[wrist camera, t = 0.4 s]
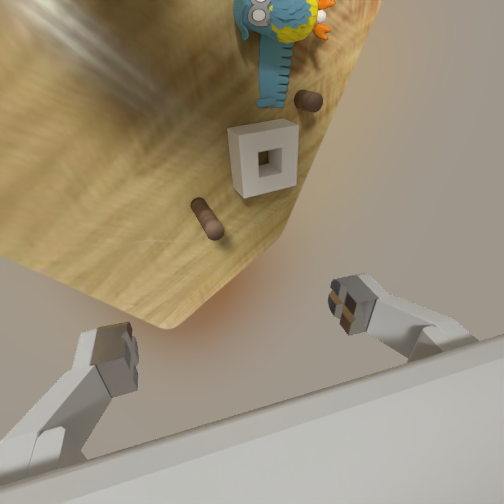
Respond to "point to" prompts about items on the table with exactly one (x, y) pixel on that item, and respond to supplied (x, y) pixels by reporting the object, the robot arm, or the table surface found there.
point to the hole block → (279, 156)
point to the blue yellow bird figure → (279, 37)
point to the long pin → (207, 219)
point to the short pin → (308, 100)
